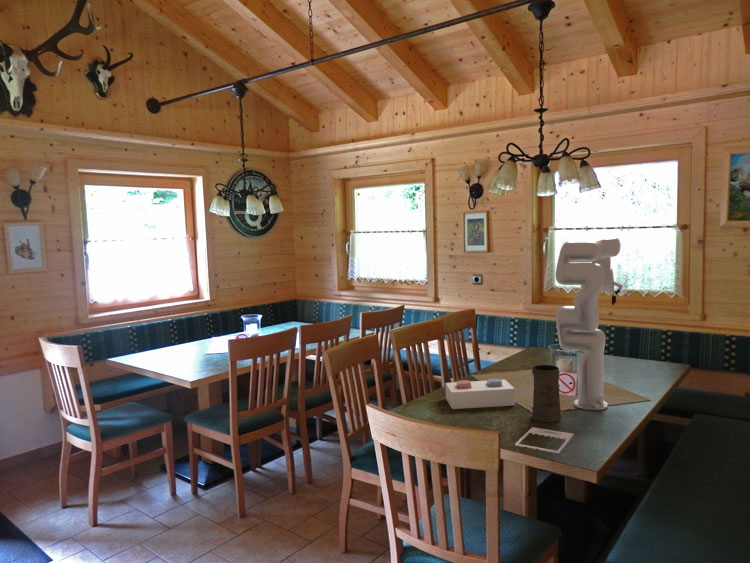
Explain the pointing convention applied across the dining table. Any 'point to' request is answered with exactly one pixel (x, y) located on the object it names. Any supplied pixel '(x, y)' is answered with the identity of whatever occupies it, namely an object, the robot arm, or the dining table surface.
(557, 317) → the robot arm
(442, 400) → the dining table surface
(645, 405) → the dining table surface
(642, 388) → the dining table surface
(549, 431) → the photo frame
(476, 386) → the key console
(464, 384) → the red key
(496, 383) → the blue key
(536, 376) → the beer stein
